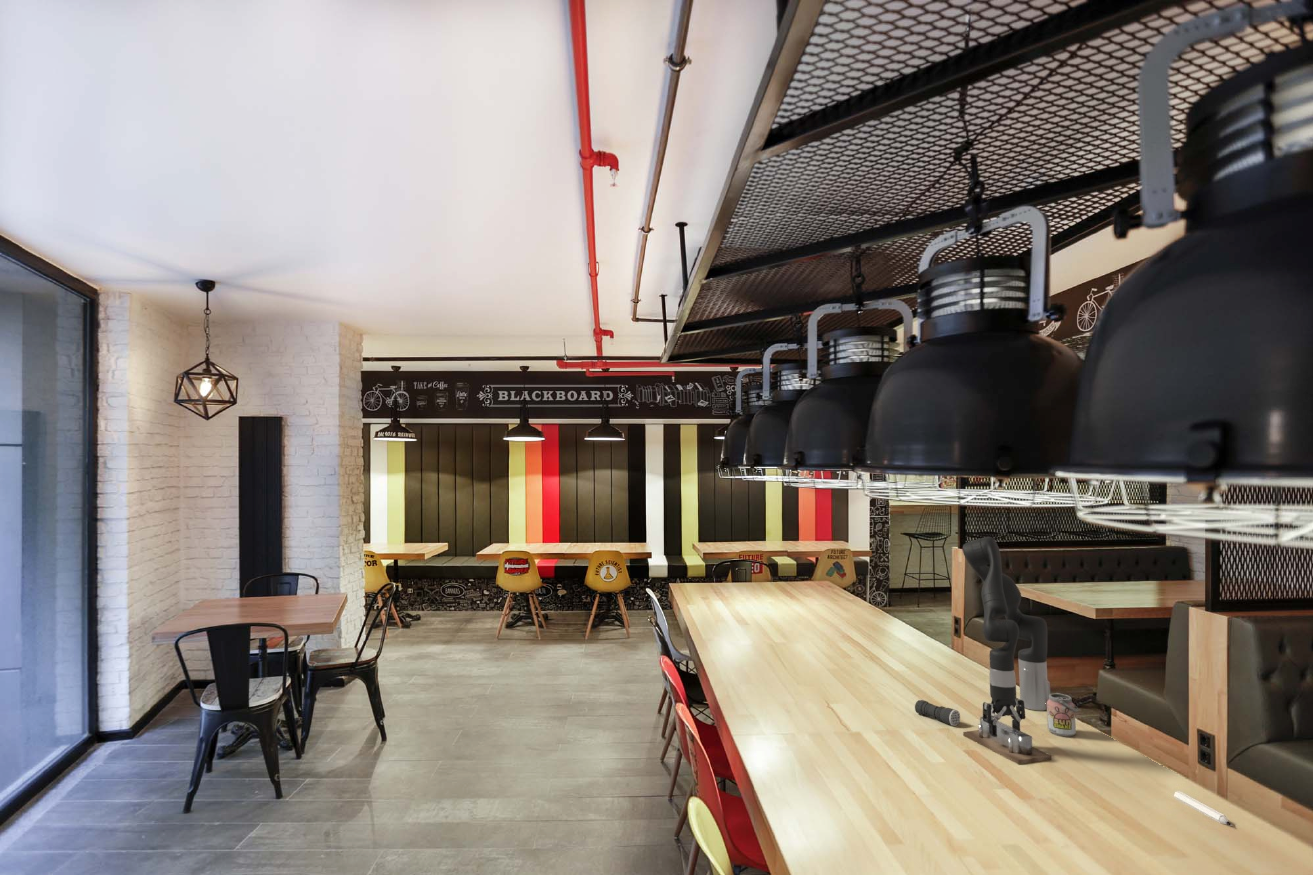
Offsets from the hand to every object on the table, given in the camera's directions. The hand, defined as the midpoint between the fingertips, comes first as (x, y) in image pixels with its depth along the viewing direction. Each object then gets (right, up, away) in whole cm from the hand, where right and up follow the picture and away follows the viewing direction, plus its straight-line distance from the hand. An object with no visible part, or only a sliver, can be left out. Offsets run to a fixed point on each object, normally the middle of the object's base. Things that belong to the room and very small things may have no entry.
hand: (1004, 734), depth 221 cm
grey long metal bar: (0, -3, 0) cm, 3 cm away
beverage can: (+25, -4, +11) cm, 28 cm away
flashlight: (-11, -6, +25) cm, 28 cm away
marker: (+29, -2, -44) cm, 53 cm away
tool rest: (0, -4, 0) cm, 4 cm away
